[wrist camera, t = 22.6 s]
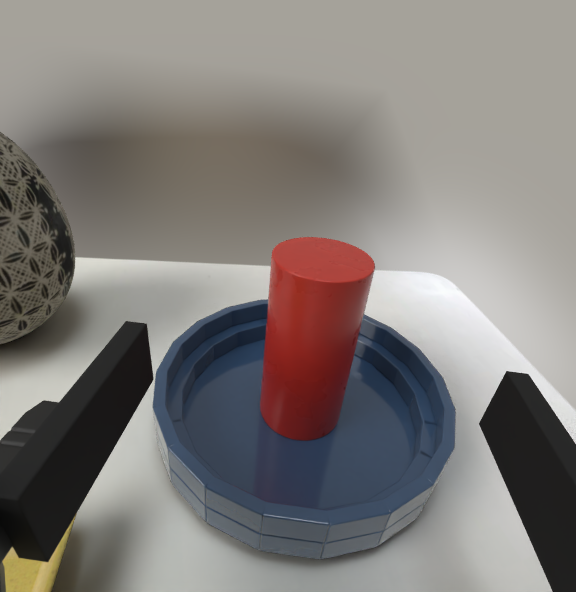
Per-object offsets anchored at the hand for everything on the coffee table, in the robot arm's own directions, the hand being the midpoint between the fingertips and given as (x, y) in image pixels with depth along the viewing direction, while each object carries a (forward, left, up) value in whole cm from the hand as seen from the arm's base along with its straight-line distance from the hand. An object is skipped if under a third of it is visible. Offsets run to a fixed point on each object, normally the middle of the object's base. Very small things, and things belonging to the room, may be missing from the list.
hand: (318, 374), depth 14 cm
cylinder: (0, -5, -8) cm, 9 cm away
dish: (0, -5, -8) cm, 10 cm away
